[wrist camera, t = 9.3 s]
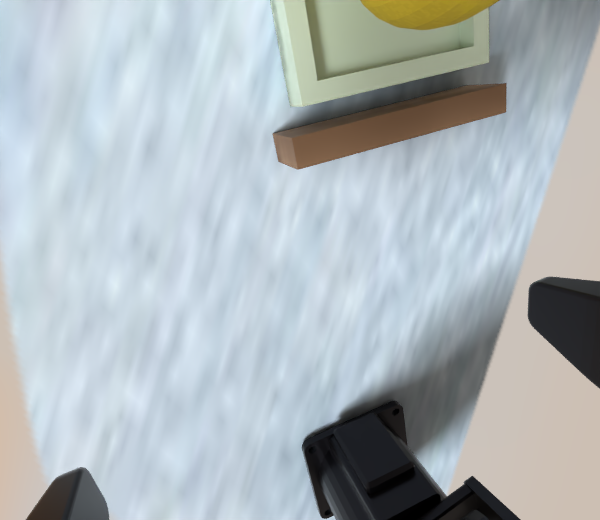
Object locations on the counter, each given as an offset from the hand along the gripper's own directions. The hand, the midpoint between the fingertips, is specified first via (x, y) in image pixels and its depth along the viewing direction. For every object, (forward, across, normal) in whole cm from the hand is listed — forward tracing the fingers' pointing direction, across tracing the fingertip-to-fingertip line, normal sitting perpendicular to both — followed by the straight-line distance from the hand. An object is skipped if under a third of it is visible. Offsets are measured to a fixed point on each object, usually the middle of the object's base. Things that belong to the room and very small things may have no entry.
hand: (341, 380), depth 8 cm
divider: (+12, -8, -2) cm, 15 cm away
